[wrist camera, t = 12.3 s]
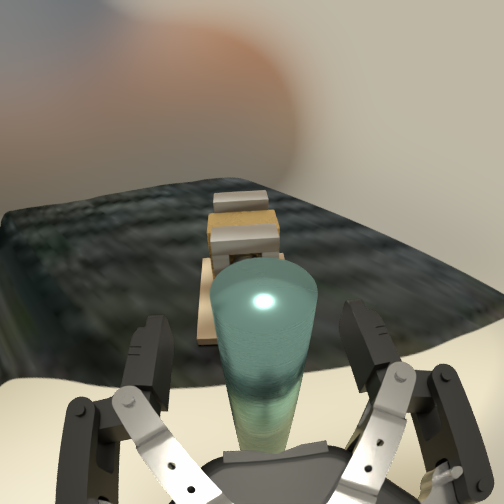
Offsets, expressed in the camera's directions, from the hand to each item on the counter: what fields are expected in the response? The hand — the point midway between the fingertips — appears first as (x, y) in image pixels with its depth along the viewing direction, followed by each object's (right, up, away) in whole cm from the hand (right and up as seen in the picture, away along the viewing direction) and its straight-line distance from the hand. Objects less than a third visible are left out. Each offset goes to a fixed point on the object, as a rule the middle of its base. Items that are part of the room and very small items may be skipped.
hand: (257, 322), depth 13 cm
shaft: (0, -6, +10) cm, 12 cm away
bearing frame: (-1, -2, +23) cm, 23 cm away
